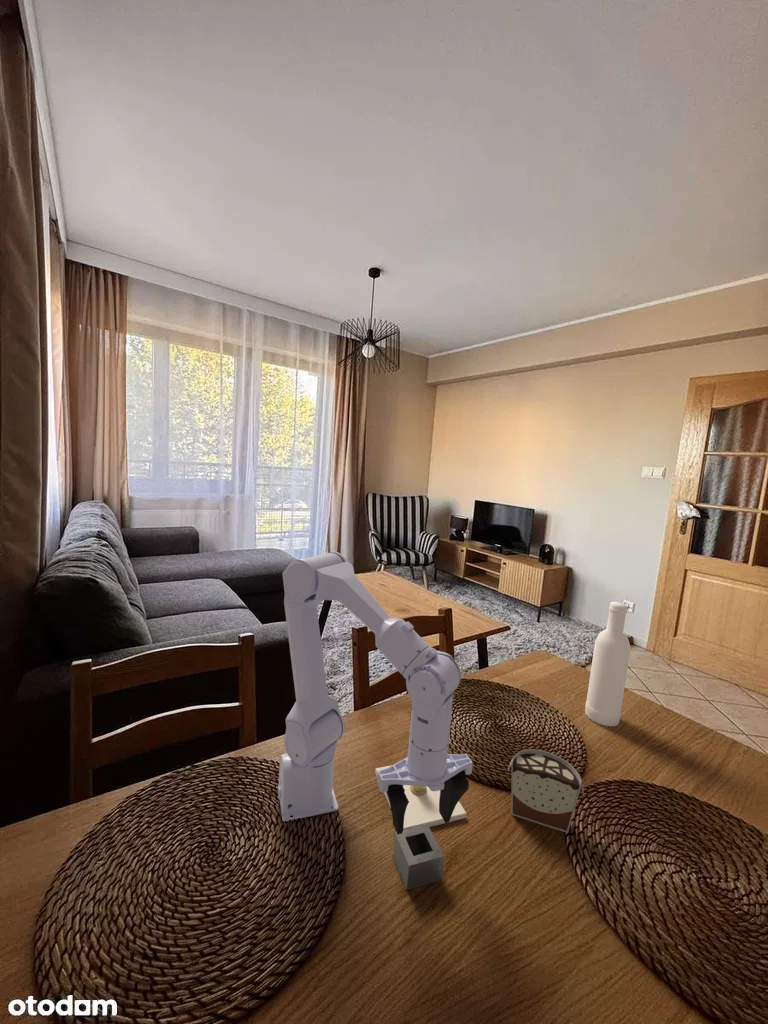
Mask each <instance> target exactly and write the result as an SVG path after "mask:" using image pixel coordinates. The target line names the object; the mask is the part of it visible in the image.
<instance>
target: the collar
mask: <svg viewBox="0 0 768 1024" xmlns="http://www.w3.org/2000/svg"><path fill="white" fill-rule="evenodd" d="M393 840H394V841H393V849H392V851H393V852H392V857H393V859H394V861H395V865H396V867H397V869H398V872H399V875H400V877H401V880H402V882H403V885H404V888H405V889H406V891H411V890H413V889H417V888H420V887H423V886H426V885H430V884H434V883H437V882H440V881H442V879H443V870H444V869H443V868H444V861H445V855H444V853H443V851H442V849H441V846H440V845H439V844H438V840H436V838H435V835H434V834H433V832H432V830H431V828H430V827H429V826H428V825H424V826H420V827H415V828H411V829H407V830H403V832H402V834H399V835H398V834H397V832H396V831H395V832H394V837H393Z"/></svg>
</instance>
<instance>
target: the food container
mask: <svg viewBox="0 0 768 1024" xmlns="http://www.w3.org/2000/svg"><path fill="white" fill-rule="evenodd" d="M510 769H511V777H510V778H511V782H510V783H511V785H510V787H511V788H510V789H511V790H510V791H511V793H510V794H511V795H510V796H511V798H510V801H511V804H510V805H511V807H510V808H511V809H510V810H511V811H510V813H511V814H510V815H512V816H514V817H517V818H519V819H524V820H526V821H530V822H532V823H535V824H539V825H541V826H545V827H547V828H551V829H554V830H556V831H560V832H563V833H566V834H569V831H570V827H571V824H572V820H573V817H574V814H575V810H576V806H577V802H578V799H579V795H580V792H582V794H583V795H584V785H583V781H582V777H581V776H580V774H579V772H578V771H577V770H576V769H575V768H574V766H573V765H572V764H570V763H569V762H568V761H567V760H565V759H563V758H562V757H561V756H558V755H556V754H554V753H552V752H548V751H546V750H540V749H536V748H535V749H533V748H532V749H531V748H530V749H528V748H527V749H523V750H520V751H519V752H517V753H515V755H514V756H513V757H512V758H511V761H510V762H509V766H508V768H507V772H509V771H510Z"/></svg>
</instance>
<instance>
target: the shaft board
mask: <svg viewBox="0 0 768 1024" xmlns="http://www.w3.org/2000/svg"><path fill="white" fill-rule="evenodd" d="M392 765H393V764H391V765H387V766H381V767H377V768H376V767H375V771H374V773H375V776H376V777H377V774H378V771H379V770H383V769H386V768H388V767H390V766H392ZM403 788H404V789H405V795H406V797H407V799H408V801H409V803H408V805H407V808H406V811H405V815H404V827H403V830H407V829H411V828H415V827H420V826H424V825H428V826H429V828H430V827H435V826H440V825H443V824H447V823H452V822H455V821H460V820H464V819H466V818H467V812H466V811H465V809H464V807H463V805H462V804H461V802H460V800H459V801H458V803H457V804H456V806H455V809H454V811H453V813H452V815H451V818H450V820H449V822H447V823H445V821H444V820H443V818H442V816H441V814H440V813H439V799H440V790H439V791H431V790H430V788H429V787H426V786H412V785H403ZM383 794H384V796H385V798H386V801H387V803H388V805H389V808H390V809H391V806H390V802H389V799H388V796H387V793H386V792H383Z"/></svg>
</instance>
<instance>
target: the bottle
mask: <svg viewBox="0 0 768 1024" xmlns="http://www.w3.org/2000/svg"><path fill="white" fill-rule="evenodd" d="M627 609H628V606H627V605H626V604H625V603H623V602H620V601H611V602H610V603H609V607H608V617H607V623H606V628H605V629H604V630H601V631H599V633H598V634H597V637H596V638H595V640H594V641H595V642H594V648H593V655H592V660H591V661H592V662H591V668H590V674H589V682H588V689H587V696H586V701H585V706H584V713H585V716H586V715H587V716H586V717H587V718H588V719H589V720H590V719H591V720H590V721H592V722H593V721H594V723H595V722H596V723H595V724H597V723H598V724H597V725H600V724H601V725H600V726H603V725H604V727H608V726H610V727H609V728H611V727H612V726H613V727H616V726H618V725H619V723H620V720H621V714H622V707H623V701H624V695H625V694H624V692H625V687H626V680H627V675H628V669H629V668H628V667H629V661H630V656H631V649H632V648H631V645H630V639H629V638H628V637H627V636H626V634H625V633H624V628H625V624H626V623H625V622H626V617H627V616H626V615H627V612H628V610H627Z"/></svg>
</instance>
